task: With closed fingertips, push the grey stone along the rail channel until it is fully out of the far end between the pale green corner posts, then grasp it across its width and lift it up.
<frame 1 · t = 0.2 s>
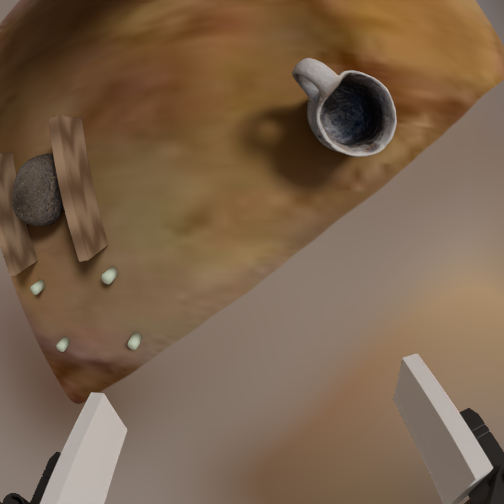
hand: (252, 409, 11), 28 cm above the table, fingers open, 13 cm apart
stone: (49, 188, 35), on the table
channel: (49, 195, 35), on the table
zone posts: (86, 310, 41), on the table
mug: (326, 113, 33), on the table
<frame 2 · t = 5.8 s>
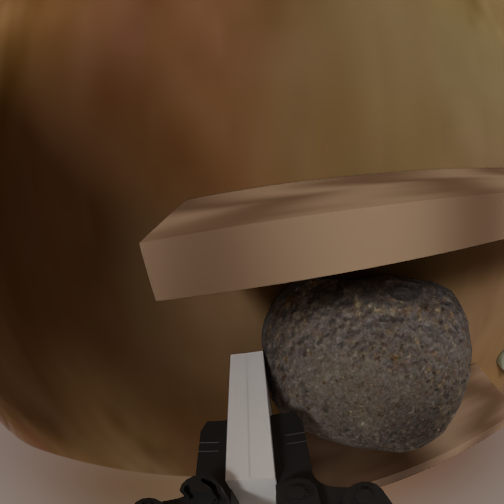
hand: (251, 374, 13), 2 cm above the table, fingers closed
stone: (354, 329, 15), on the table, touching gripper
channel: (387, 323, 15), on the table
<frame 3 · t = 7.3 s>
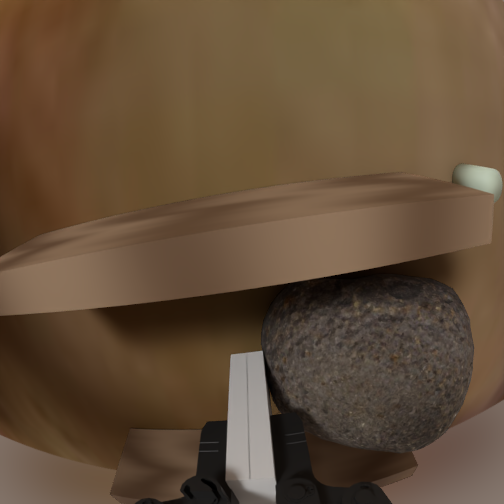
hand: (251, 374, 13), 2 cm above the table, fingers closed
stone: (355, 328, 15), on the table, touching gripper
channel: (235, 353, 15), on the table
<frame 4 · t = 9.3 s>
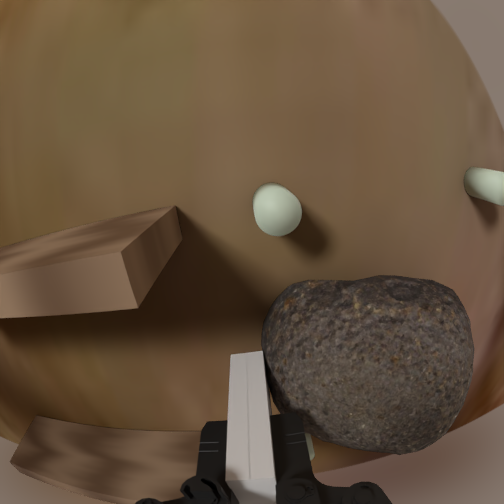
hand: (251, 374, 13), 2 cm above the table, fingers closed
stone: (355, 329, 15), on the table, touching gripper
channel: (75, 362, 15), on the table
zone posts: (387, 327, 14), on the table
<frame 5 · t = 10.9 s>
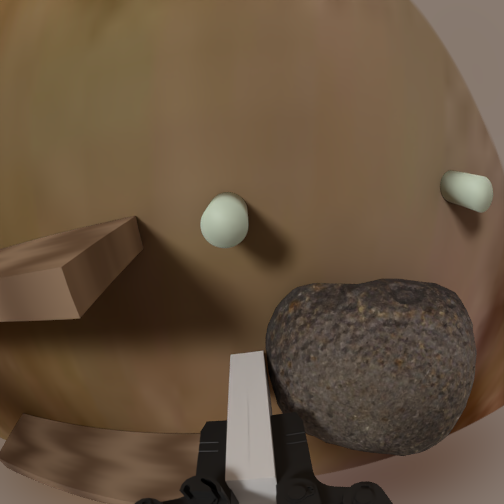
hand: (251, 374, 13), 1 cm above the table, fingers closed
stone: (358, 332, 15), on the table
channel: (54, 363, 15), on the table
zone posts: (357, 338, 14), on the table
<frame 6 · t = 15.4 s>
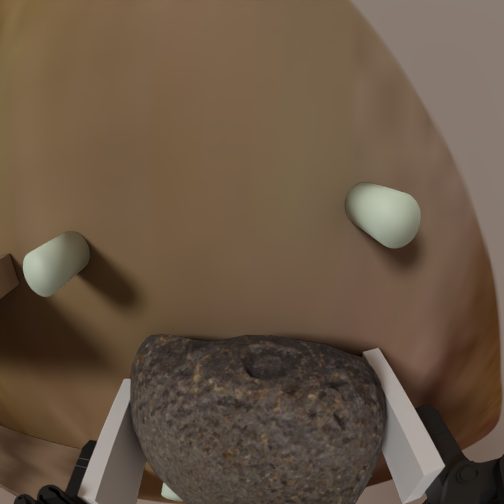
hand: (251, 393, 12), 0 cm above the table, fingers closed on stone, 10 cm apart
stone: (250, 383, 12), on the table, touching gripper
zone posts: (243, 389, 12), on the table
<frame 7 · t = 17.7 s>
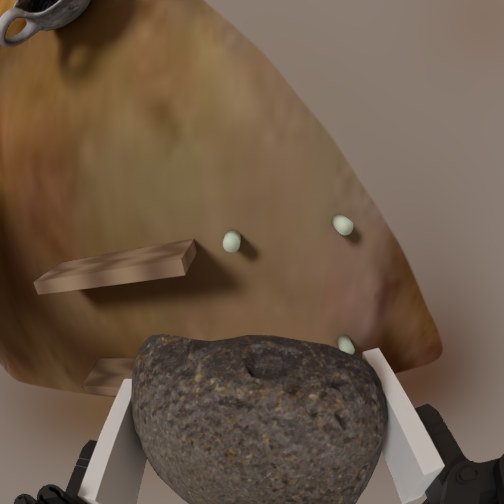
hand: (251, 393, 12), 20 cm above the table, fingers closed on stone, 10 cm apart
stone: (251, 383, 12), point 19 cm above the table, touching gripper
channel: (138, 314, 33), on the table
zone posts: (294, 295, 32), on the table
mug: (68, 16, 21), on the table
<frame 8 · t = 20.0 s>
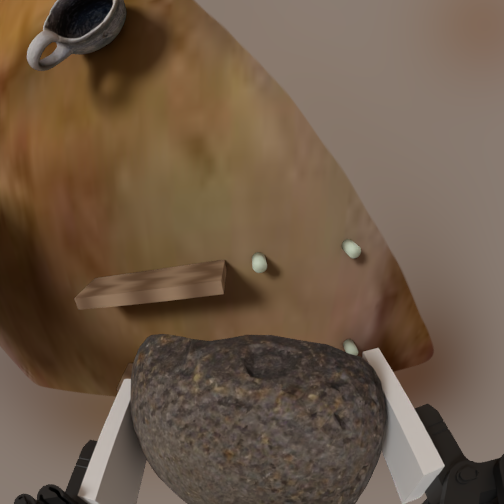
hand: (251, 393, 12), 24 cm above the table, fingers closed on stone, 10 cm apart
stone: (250, 383, 12), point 23 cm above the table, touching gripper
channel: (170, 324, 38), on the table
zone posts: (308, 306, 37), on the table
mug: (97, 38, 25), on the table
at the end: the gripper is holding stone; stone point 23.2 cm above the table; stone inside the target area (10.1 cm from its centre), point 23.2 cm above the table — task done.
